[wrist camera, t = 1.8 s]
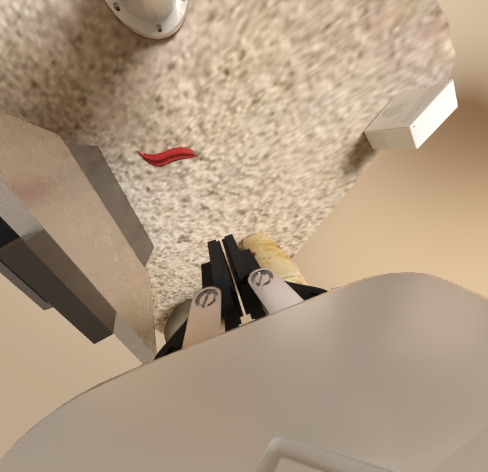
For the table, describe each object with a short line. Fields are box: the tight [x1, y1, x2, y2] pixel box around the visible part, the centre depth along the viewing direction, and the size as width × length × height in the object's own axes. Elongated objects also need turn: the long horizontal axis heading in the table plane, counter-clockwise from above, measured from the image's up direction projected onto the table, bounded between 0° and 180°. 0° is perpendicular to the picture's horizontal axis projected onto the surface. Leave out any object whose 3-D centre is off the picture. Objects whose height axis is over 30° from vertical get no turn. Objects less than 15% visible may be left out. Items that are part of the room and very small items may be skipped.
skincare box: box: [364, 80, 457, 150], centre depth 39 cm, size 10×6×10 cm, turn 139°
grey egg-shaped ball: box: [164, 299, 193, 343], centre depth 46 cm, size 14×14×15 cm
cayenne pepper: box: [136, 147, 196, 166], centre depth 35 cm, size 12×5×2 cm, turn 77°
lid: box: [0, 111, 157, 364], centre depth 18 cm, size 23×19×1 cm
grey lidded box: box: [0, 144, 154, 310], centre depth 30 cm, size 26×16×12 cm, turn 13°
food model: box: [242, 233, 308, 286], centre depth 40 cm, size 10×7×20 cm
